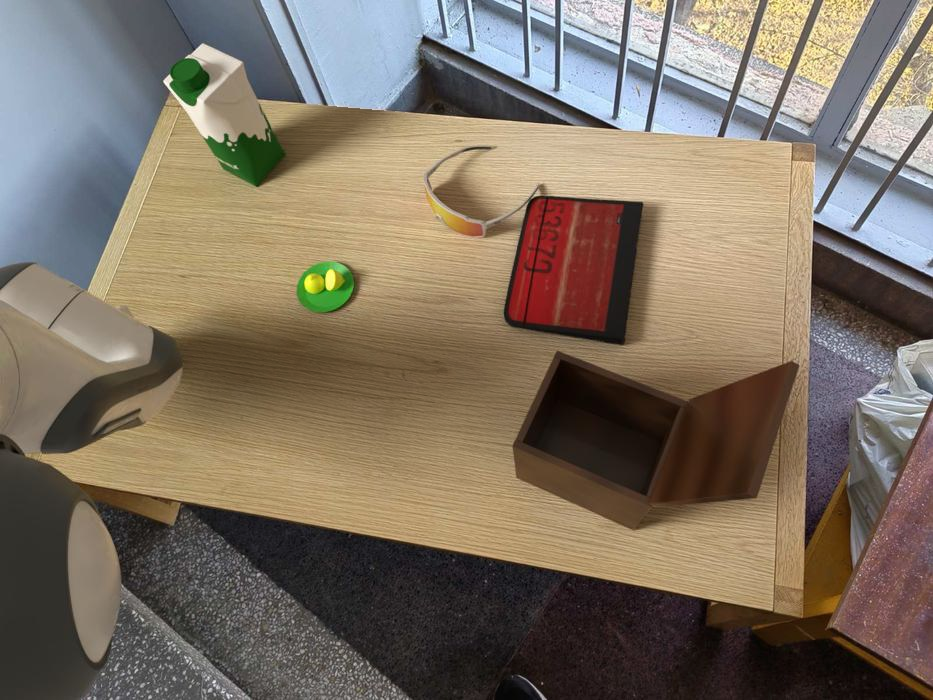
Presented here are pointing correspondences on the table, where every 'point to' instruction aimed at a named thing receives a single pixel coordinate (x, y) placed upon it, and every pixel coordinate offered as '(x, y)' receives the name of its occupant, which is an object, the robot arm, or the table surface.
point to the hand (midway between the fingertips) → (65, 340)
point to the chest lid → (726, 440)
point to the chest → (597, 439)
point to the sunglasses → (455, 219)
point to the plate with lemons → (325, 286)
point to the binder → (574, 268)
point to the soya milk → (226, 112)
